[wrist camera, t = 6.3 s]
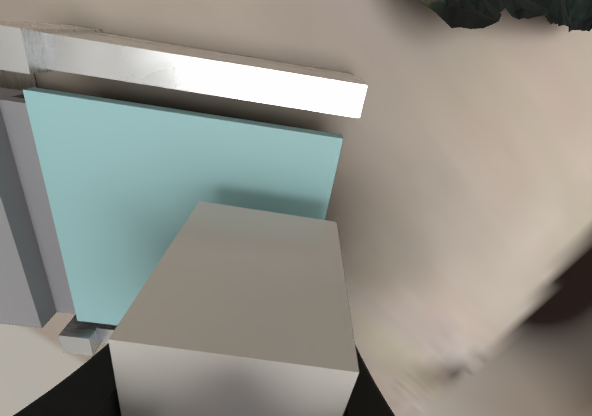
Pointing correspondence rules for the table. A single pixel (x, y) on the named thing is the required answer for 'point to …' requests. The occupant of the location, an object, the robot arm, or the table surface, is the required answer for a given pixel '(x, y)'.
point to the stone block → (240, 321)
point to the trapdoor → (129, 193)
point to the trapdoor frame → (169, 74)
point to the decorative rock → (513, 12)
